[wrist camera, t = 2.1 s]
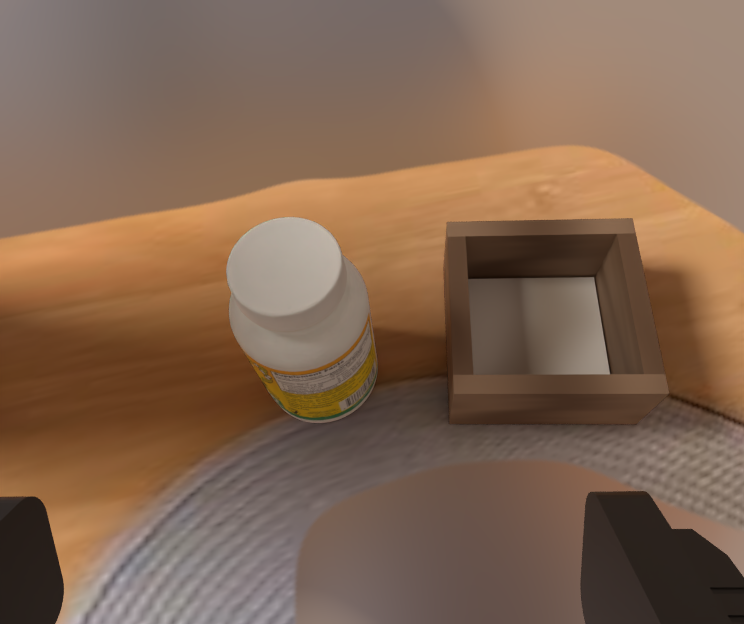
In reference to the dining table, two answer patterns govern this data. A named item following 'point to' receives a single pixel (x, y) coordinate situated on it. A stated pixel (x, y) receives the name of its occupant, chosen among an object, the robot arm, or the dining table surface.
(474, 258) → the holder
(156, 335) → the dining table surface
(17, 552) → the robot arm
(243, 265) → the supplement bottle
